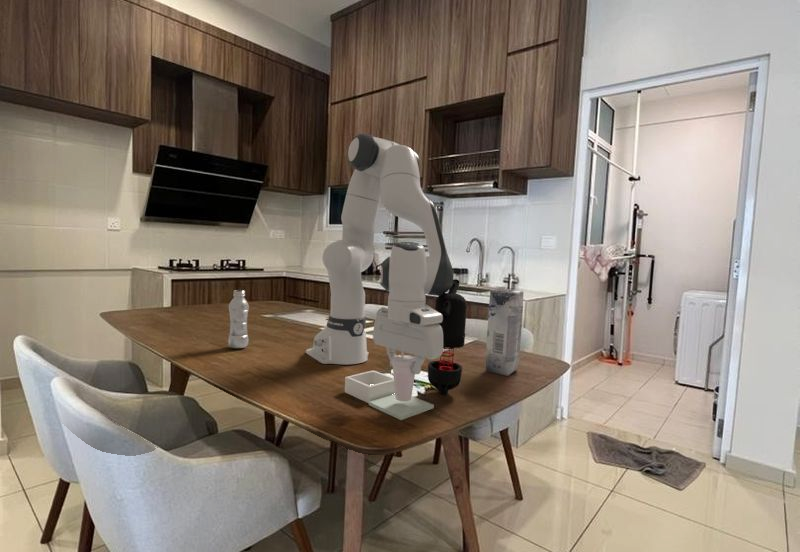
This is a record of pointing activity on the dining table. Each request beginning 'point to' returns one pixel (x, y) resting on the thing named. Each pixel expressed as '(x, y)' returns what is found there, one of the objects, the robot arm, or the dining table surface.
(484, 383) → the dining table surface
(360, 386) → the shallow white tray
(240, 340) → the plastic bottle
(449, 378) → the filter
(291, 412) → the dining table surface
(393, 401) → the coaster
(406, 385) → the smoothie
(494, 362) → the juice carton
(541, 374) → the dining table surface
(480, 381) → the dining table surface
